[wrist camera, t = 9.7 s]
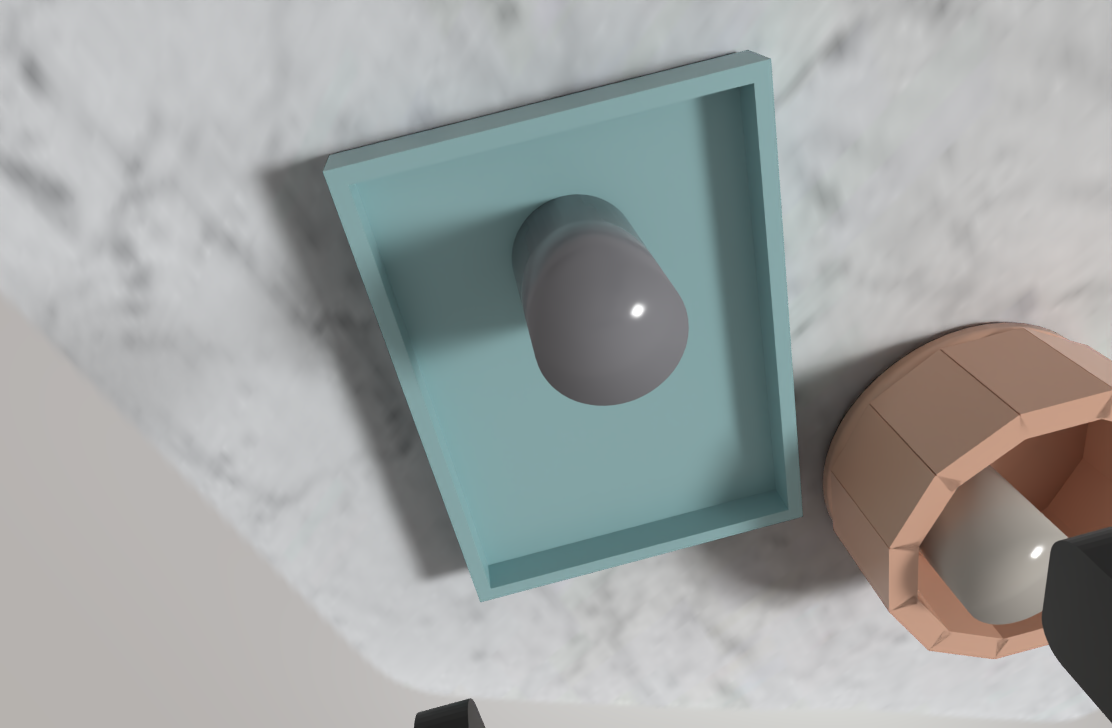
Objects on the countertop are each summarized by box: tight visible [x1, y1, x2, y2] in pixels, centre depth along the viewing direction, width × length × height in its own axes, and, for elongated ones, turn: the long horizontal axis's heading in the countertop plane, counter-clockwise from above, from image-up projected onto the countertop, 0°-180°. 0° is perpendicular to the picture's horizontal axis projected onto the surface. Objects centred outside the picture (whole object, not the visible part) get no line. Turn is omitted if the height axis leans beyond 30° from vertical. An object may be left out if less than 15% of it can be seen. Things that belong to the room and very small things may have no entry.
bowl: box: [823, 322, 1112, 659], centre depth 28 cm, size 11×11×5 cm
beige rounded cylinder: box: [919, 465, 1068, 625], centre depth 27 cm, size 4×4×6 cm
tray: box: [323, 50, 803, 602], centre depth 25 cm, size 16×12×2 cm
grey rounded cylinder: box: [512, 194, 689, 406], centre depth 21 cm, size 4×4×6 cm
